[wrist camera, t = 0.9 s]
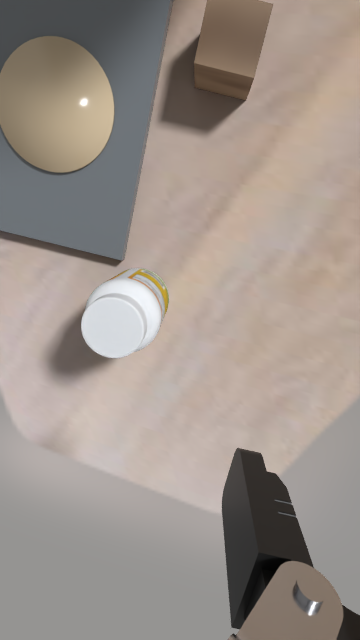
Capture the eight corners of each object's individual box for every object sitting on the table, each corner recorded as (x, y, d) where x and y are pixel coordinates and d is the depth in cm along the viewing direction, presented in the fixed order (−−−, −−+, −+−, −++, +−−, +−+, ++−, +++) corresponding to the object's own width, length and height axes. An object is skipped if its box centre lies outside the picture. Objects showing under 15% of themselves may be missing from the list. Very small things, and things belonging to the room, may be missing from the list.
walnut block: (208, 26, 24) (209, -12, 20) (261, 39, 24) (273, 4, 20) (194, 88, 25) (193, 62, 21) (245, 100, 25) (254, 78, 21)
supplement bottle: (112, 327, 31) (74, 370, 21) (107, 268, 29) (63, 287, 20) (171, 325, 30) (157, 368, 21) (168, 266, 29) (152, 284, 19)
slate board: (-17, -68, 23) (-29, -85, 22) (176, -19, 23) (175, -33, 22) (-33, 220, 29) (-43, 220, 27) (124, 259, 29) (120, 260, 28)
